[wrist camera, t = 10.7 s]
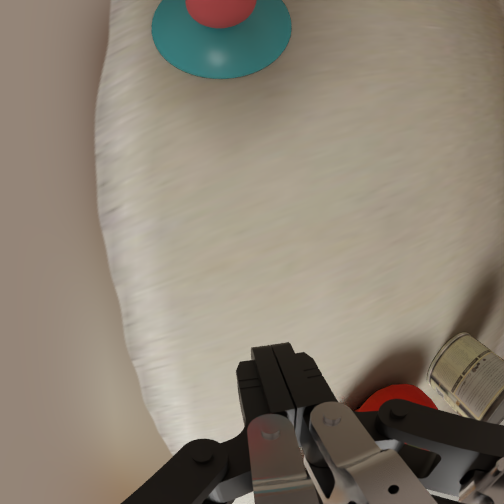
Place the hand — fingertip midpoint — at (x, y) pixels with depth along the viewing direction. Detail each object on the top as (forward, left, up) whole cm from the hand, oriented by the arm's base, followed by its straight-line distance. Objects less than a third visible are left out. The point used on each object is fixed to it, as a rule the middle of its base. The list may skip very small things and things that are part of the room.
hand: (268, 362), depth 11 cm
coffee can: (+20, +32, -14) cm, 40 cm away
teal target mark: (-21, 0, -14) cm, 25 cm away
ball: (-22, 0, -11) cm, 24 cm away
